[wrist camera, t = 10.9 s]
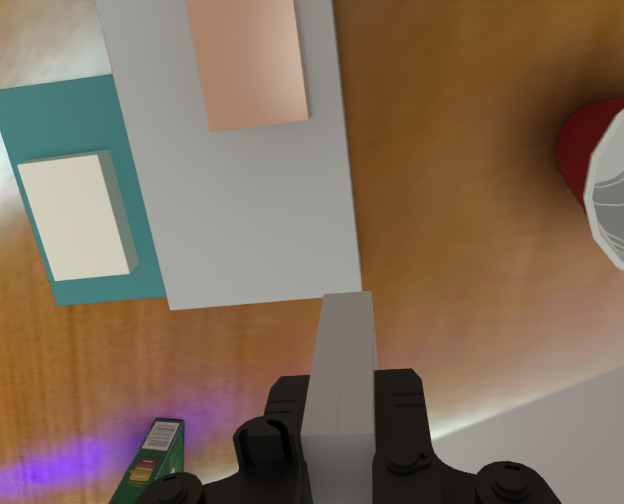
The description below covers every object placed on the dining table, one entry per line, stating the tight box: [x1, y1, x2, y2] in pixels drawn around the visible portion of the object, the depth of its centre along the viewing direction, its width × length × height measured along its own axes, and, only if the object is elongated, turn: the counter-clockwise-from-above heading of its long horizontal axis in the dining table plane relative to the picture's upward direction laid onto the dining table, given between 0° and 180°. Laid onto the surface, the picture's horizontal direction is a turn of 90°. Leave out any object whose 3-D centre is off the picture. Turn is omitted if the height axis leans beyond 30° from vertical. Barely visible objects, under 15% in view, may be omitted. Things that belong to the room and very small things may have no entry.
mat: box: [0, 74, 167, 306], centre depth 41 cm, size 17×11×1 cm, turn 7°
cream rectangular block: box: [17, 149, 140, 281], centre depth 41 cm, size 9×6×2 cm, turn 8°
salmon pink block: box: [185, 0, 311, 132], centre depth 32 cm, size 9×6×2 cm, turn 7°
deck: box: [95, 0, 362, 310], centre depth 37 cm, size 22×14×4 cm, turn 7°
